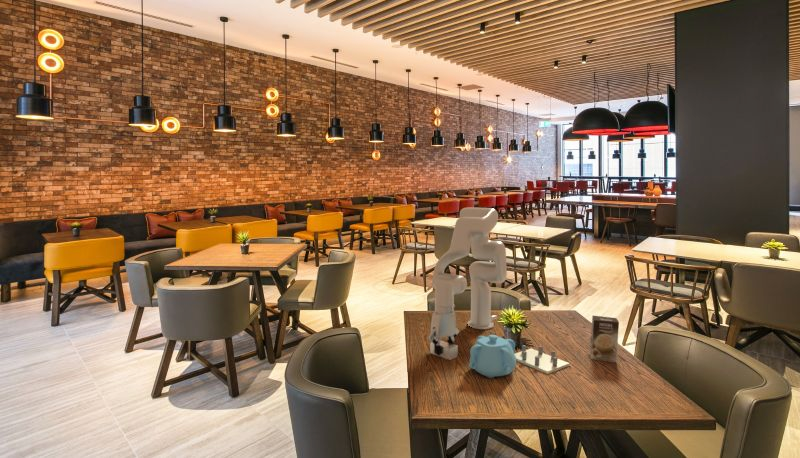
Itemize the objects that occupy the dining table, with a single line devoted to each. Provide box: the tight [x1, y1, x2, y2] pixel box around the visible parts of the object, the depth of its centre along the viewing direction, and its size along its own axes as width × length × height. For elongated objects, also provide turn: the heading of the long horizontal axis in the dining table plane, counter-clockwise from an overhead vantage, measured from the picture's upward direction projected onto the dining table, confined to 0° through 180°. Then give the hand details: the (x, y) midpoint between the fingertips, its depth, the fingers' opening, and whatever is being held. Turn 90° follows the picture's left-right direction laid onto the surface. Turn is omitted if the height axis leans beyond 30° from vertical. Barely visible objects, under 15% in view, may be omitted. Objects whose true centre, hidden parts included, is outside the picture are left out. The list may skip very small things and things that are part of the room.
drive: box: [429, 340, 459, 361], centre depth 175 cm, size 5×10×4 cm, turn 47°
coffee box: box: [589, 315, 620, 363], centre depth 171 cm, size 9×6×16 cm
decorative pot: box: [468, 334, 517, 379], centre depth 159 cm, size 16×16×14 cm
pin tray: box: [514, 344, 570, 375], centre depth 168 cm, size 13×18×4 cm
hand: (443, 351), depth 175 cm, fingers closed on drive, 5 cm apart
